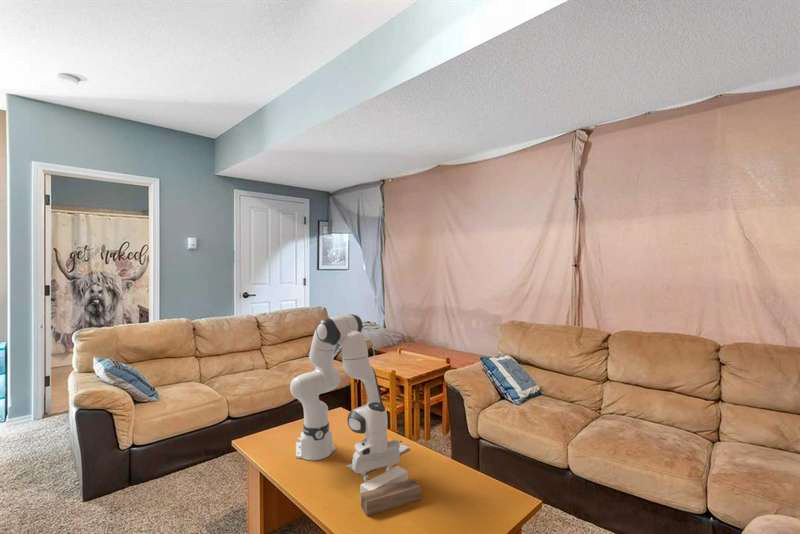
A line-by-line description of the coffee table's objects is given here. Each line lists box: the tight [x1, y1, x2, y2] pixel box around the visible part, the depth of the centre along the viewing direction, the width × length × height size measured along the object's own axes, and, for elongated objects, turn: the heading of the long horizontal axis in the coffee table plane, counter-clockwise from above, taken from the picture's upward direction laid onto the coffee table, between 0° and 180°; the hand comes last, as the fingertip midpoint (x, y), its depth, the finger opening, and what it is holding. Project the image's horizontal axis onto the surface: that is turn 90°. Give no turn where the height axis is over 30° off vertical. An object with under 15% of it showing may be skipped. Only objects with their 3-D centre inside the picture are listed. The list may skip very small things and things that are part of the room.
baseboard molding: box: [345, 440, 410, 476], centre depth 180 cm, size 31×3×12 cm
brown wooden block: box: [360, 478, 422, 517], centre depth 146 cm, size 6×22×5 cm, turn 116°
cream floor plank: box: [359, 465, 409, 498], centre depth 154 cm, size 6×20×5 cm, turn 134°
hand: (376, 477), depth 159 cm, fingers open, 8 cm apart
